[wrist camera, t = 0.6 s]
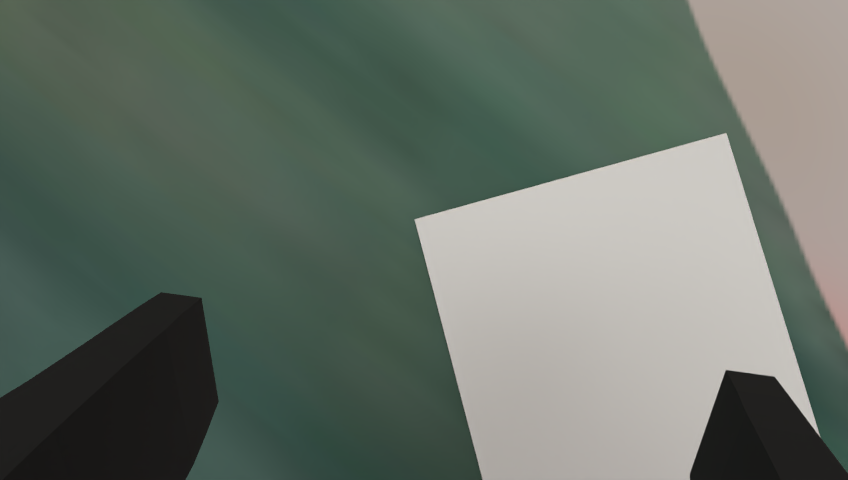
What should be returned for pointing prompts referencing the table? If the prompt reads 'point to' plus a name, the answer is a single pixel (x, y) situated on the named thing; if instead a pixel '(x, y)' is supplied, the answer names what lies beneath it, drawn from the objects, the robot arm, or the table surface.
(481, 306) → the mat
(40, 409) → the robot arm
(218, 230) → the table surface
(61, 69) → the table surface
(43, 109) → the table surface
